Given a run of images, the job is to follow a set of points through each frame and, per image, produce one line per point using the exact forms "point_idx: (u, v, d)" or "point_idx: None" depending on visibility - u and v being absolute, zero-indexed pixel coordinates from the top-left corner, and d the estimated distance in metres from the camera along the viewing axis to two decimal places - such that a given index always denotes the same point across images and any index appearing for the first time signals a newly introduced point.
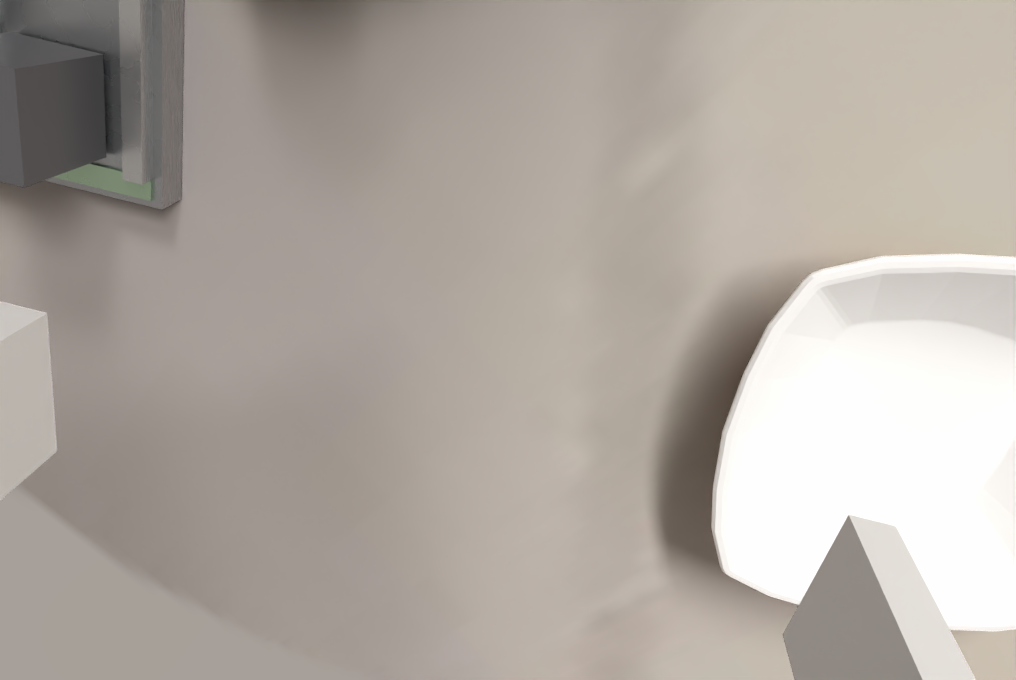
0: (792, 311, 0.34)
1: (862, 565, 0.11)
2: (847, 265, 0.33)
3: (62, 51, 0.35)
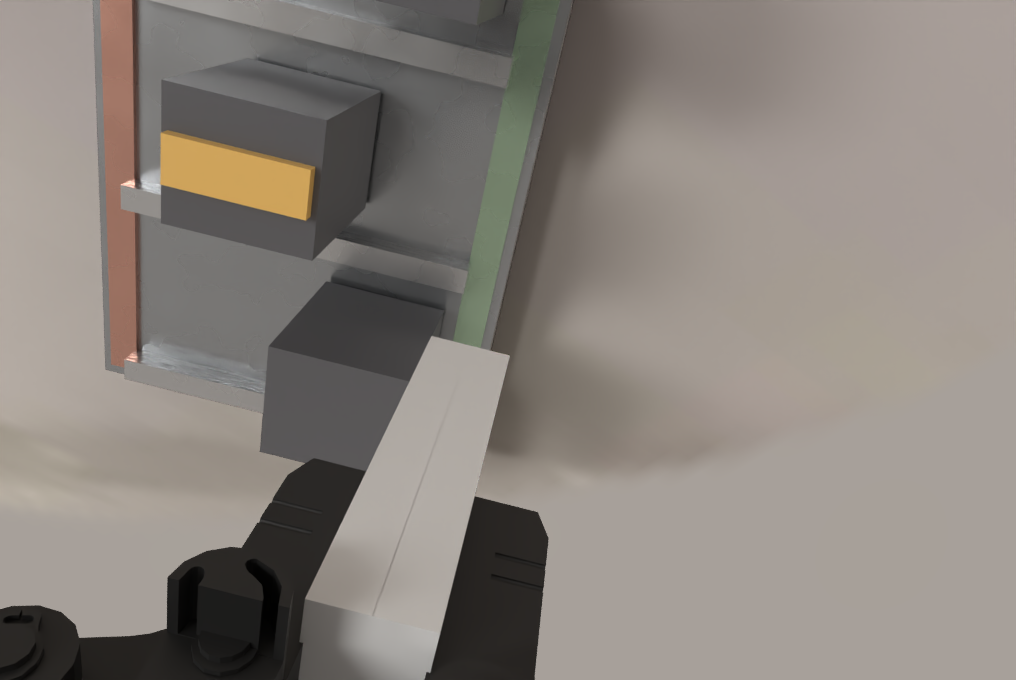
0: None
1: (459, 378, 0.13)
2: None
3: None
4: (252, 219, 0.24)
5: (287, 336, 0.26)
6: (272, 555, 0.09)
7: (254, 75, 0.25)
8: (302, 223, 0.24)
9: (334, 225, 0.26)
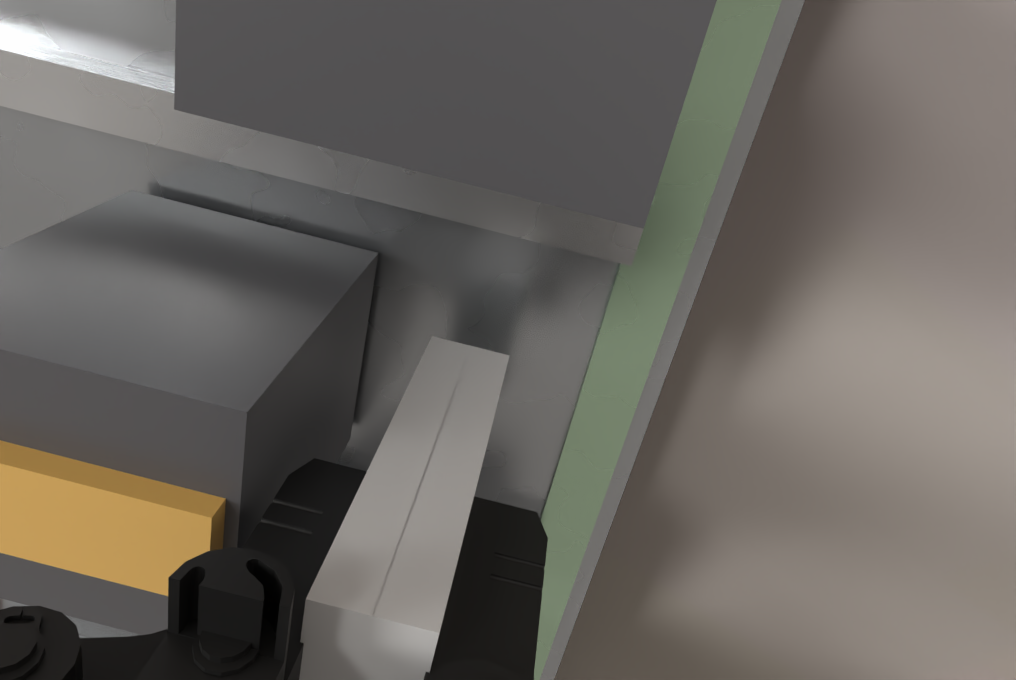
0: None
1: (458, 378, 0.13)
2: None
3: None
4: (97, 581, 0.11)
5: None
6: (273, 555, 0.09)
7: (122, 248, 0.12)
8: None
9: None
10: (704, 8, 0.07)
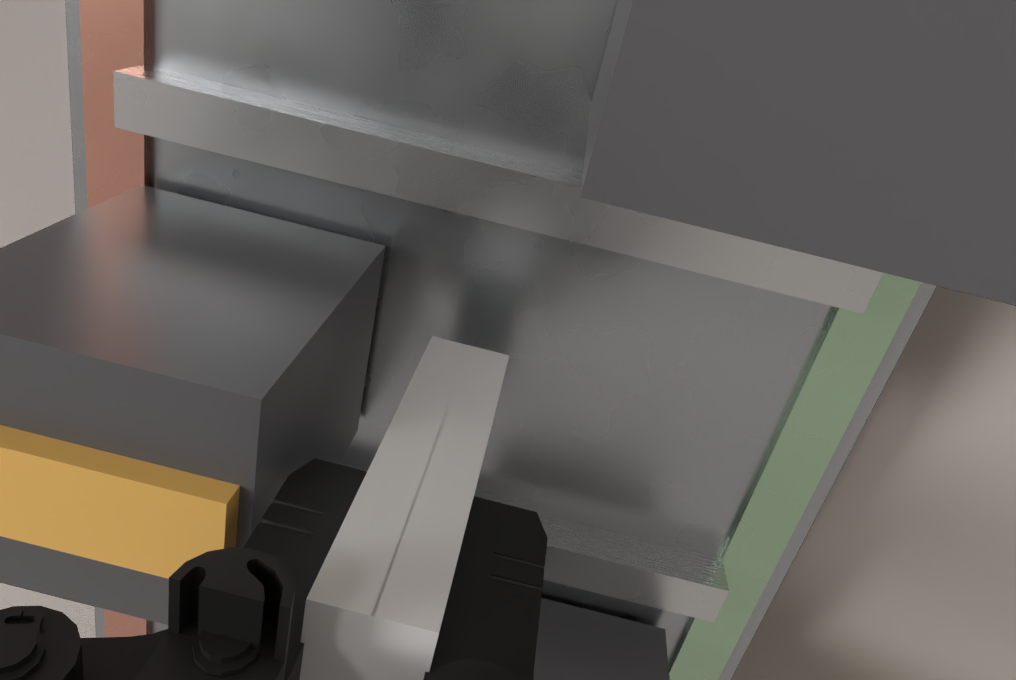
0: None
1: (458, 378, 0.13)
2: None
3: None
4: (112, 569, 0.11)
5: None
6: (273, 555, 0.09)
7: (133, 241, 0.13)
8: None
9: None
10: None
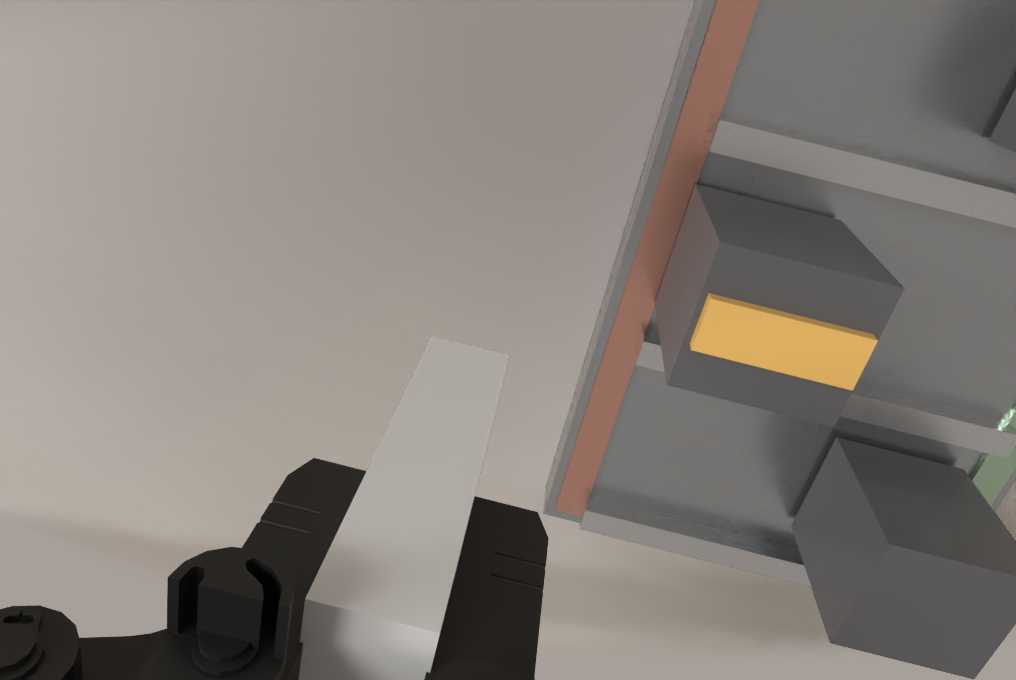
0: None
1: (459, 378, 0.13)
2: None
3: None
4: (777, 384, 0.21)
5: (889, 526, 0.24)
6: (272, 555, 0.09)
7: (747, 215, 0.23)
8: (836, 389, 0.21)
9: None
10: None
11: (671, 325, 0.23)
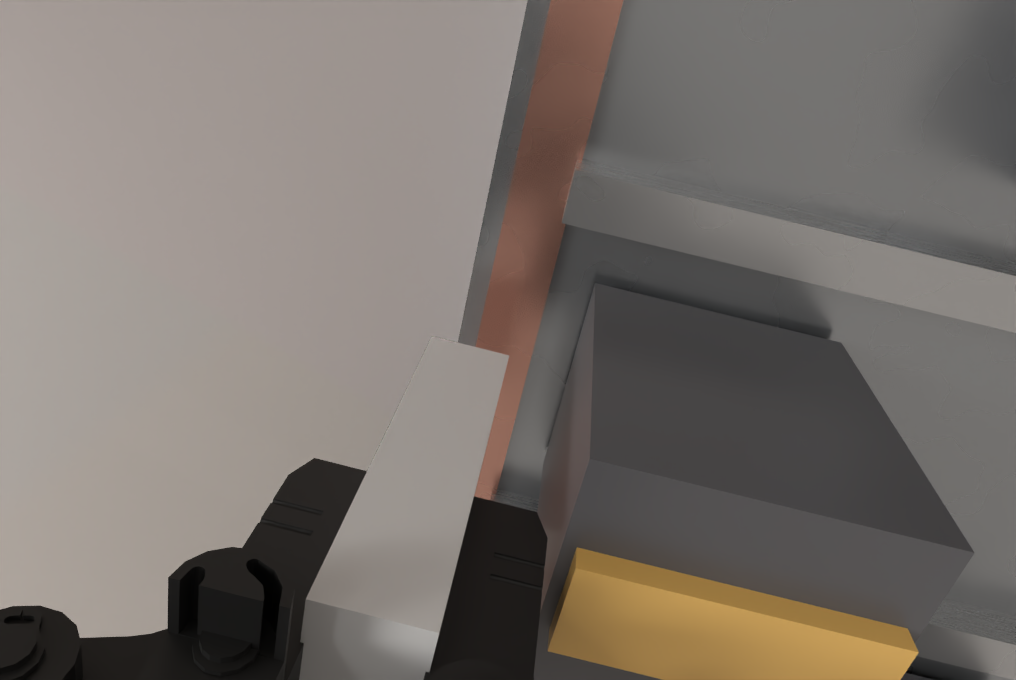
0: None
1: (458, 378, 0.13)
2: None
3: None
4: None
5: None
6: (273, 555, 0.09)
7: (670, 357, 0.13)
8: None
9: None
10: None
11: None
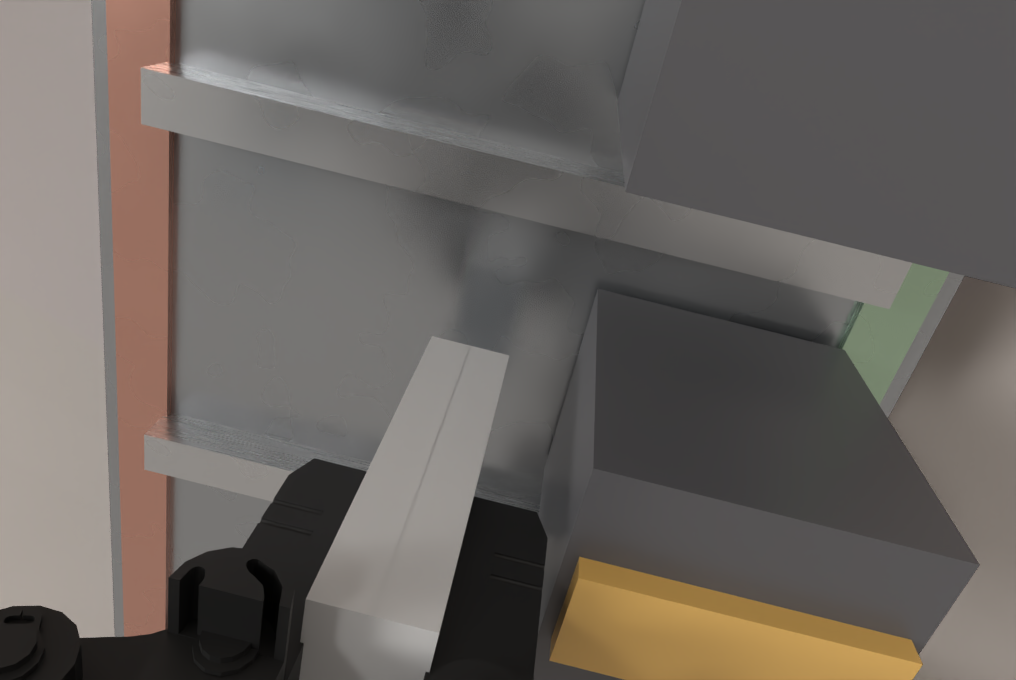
0: None
1: (458, 378, 0.13)
2: None
3: None
4: None
5: None
6: (272, 555, 0.09)
7: (673, 365, 0.13)
8: None
9: None
10: None
11: None
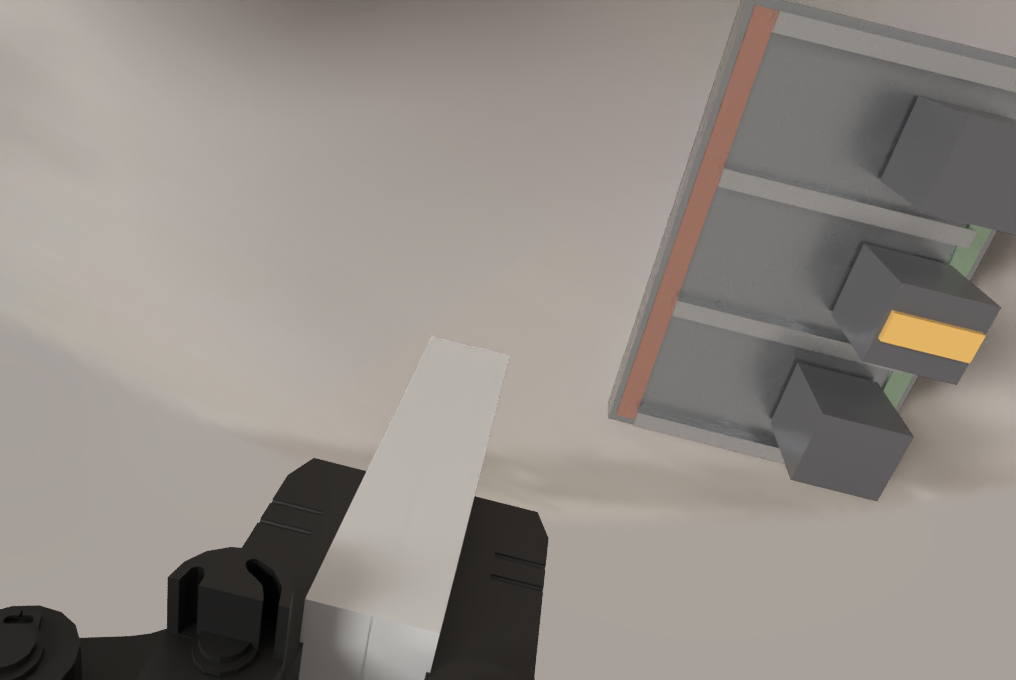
0: None
1: (459, 378, 0.13)
2: None
3: (917, 122, 0.38)
4: (926, 360, 0.38)
5: (824, 406, 0.41)
6: (272, 555, 0.09)
7: (903, 264, 0.40)
8: (959, 363, 0.38)
9: None
10: None
11: (857, 327, 0.40)
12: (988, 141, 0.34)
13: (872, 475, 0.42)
